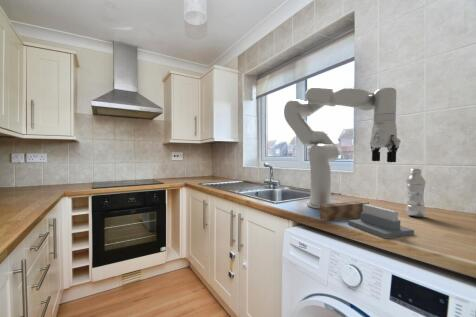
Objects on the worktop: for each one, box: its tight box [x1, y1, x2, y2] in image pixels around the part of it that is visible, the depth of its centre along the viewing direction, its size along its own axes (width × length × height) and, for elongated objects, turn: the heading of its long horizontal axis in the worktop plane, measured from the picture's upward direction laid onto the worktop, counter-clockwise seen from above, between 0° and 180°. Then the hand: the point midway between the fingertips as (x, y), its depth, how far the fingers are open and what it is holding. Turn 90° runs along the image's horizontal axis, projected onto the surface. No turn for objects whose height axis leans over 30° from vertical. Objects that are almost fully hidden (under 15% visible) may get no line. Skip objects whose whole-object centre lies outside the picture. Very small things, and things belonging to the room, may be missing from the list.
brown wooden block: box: [319, 200, 370, 222], centre depth 94 cm, size 22×4×6 cm, turn 109°
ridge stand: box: [348, 203, 415, 239], centre depth 79 cm, size 15×12×8 cm
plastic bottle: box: [405, 168, 426, 218], centre depth 95 cm, size 6×7×20 cm
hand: (383, 161), depth 92 cm, fingers open, 9 cm apart
